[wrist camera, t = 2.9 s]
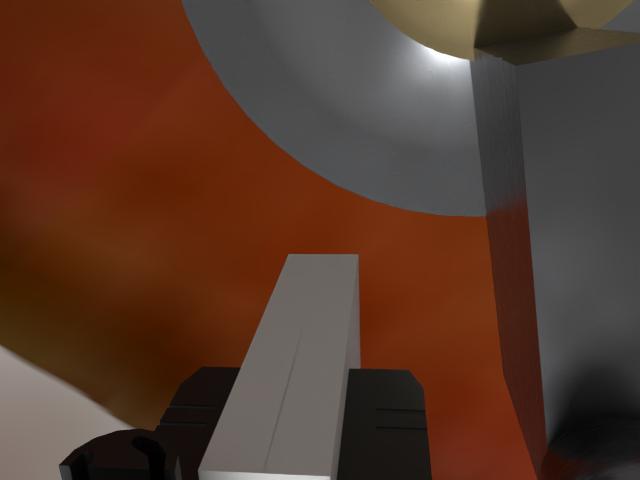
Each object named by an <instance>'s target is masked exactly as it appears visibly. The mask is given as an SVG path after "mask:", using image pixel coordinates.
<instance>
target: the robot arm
mask: <svg viewBox="0 0 640 480" xmlns="http://www.w3.org/2000/svg"><path fill="white" fill-rule="evenodd" d="M59 469H60V473H61V477H62V480H432V475H431V464H430V454H429V443H428V433H427V422H426V414H425V400H424V390H423V387H422V386H421V385H420V384H419V382H418V381H417V380H416V378H415V377H414V376H413V374H412V373H411V372H410V371H409V370H392V369H360V320H359V264H358V254H289V255H288V257H287V260H286V262H285V264H284V267H283V269H282V272H281V274H280V276H279V279H278V281H277V283H276V286H275V288H274V291H273V293H272V295H271V298H270V300H269V302H268V305H267V307H266V310H265V312H264V314H263V317H262V319H261V322H260V324H259V326H258V329H257V331H256V333H255V336H254V338H253V341H252V343H251V345H250V348H249V350H248V352H247V355H246V357H245V360H244V362H243V364H242V367H241V368H232V367H202V368H200V369H199V370H198V371H197V372H195V373H194V374H193V375H192V376H190V377H189V378H188V379H186V380H185V381H184V382H183V383H181V385H180V387H179V389H178V390H177V392H176V394H175V396H174V397H173V399H172V401H171V403H170V408H167V410H166V412H165V413H164V415H163V417H162V419H161V420H160V426H159V425H158V426H157V427H156V429H155V431H149V430H144V429H131V430H120V431H115V432H112V433H109V434H106V435H103V436H99V437H96V438H94V439H92V440H91V441H89V442H87V443H85V444H84V445H82V446H80V447H79V448H77V449H75V450H74V451H73V452H72V453H71V454H70V455H69V456H68V457H67V458H66V459H65V460H64V461H63V462H62V463H61V464H60V465H59Z"/></svg>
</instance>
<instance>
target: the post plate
mask: <svg viewBox="0 0 640 480" xmlns="http://www.w3.org/2000/svg"><path fill="white" fill-rule="evenodd" d="M182 3H183V6H184V10H185V13H186V15H187V17H188V19H189V21H190V24H191V26H192V28H193V30H194V32H195V35H196V37H197V39H198V41H199V43H200V46H201V48H202V50H203V52H204V54H205V55H206V57H207V59H208V60H209V62H210V64H211V65H212V67H213V69H214V70H215V72H216V73H217V75H218V77H219V78H220V80H221V82H222V83H223V85H224V86H225V88H226V89H227V90H228V92H229V93H230V94H231V95H232V97H233V98H234V99H235V101H236V102H237V103H238V104H239V106H240V107H241V108H242V109H243V111H244V112H245V113H246V115H247V116H248V117H249V118H250V119H251V120H252V121H253V122H254V123H255V124H256V125H257V126H258V127H259V128H260V129H261V130H262V131H263V132H264V133H265V134H266V135H267V136H268V137H269V138H270V139H271V140H272V141H273V142H274V143H275V144H276V145H278V146H279V147H280V148H282V149H283V150H284V151H285V152H287V153H288V154H289V155H291V156H292V157H293V158H294V159H296V160H297V161H298V162H300V163H301V164H302V165H304V166H305V167H306V168H308V169H310V170H312V171H313V172H315V173H317V174H318V175H320V176H322V177H323V178H325V179H327V180H329V181H330V182H332V183H334V184H335V185H337V186H340V187H342V188H344V189H347V190H349V191H351V192H354V193H356V194H358V195H361V196H363V197H365V198H368V199H370V200H373V201H377V202H380V203H384V204H387V205H391V206H394V207H398V208H401V209H405V210H410V211H417V212H423V213H430V214H436V215H447V216H486V208H485V199H484V190H483V181H482V171H481V162H480V153H479V144H478V134H477V125H476V116H475V107H474V97H473V88H472V79H471V70H470V61H469V60H466V59H460V58H456V57H453V56H449V55H446V54H442V53H439V52H437V51H435V50H432V49H430V48H428V47H426V46H423V45H421V44H419V43H418V42H416V41H414V40H413V39H411V38H410V37H408V36H406V35H405V34H403V33H402V32H400V31H399V30H398V29H397V28H396V27H394V26H393V25H392V24H391V23H390V22H389V21H387V20H386V19H385V18H384V17H383V16H382V15H381V14H380V13H379V11H378V10H377V9H376V8H375V7H374V6H373V5H372V4H371V3H370V1H369V0H182ZM599 29H604V30H615V31H626V32H637V33H640V0H634V1H633V2H632V3H631V4H630V5H628V6H627V7H626V8H625V9H624V10H623V11H622V12H620V13H619V14H618V15H617V16H616V17H615V18H613V19H612V20H611V21H609V22H608V23H606V24H605V25H603V26H602V27H601V28H599Z"/></svg>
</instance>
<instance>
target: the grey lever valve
mask: <svg viewBox="0 0 640 480" xmlns="http://www.w3.org/2000/svg"><path fill="white" fill-rule="evenodd" d="M369 1H370V3H371V4H372V5H373V6H374V7H375V8H376V9H377V10H378V11H379V13H380V14H381V15H382V16H383V17H384V18H385V19H386V20H387V21H389V22H390V23H391V24H392V25H393V26H394V27H396V28H397V29H398V30H399V31H400V32H402V33H403V34H405V35H406V36H408V37H410V38H411V39H413V40H414V41H416V42H418V43H419V44H421V45H423V46H426V47H428V48H430V49H432V50H435V51H437V52H439V53H442V54H446V55H449V56H453V57H456V58H460V59H466V60H469V61H470V70H471V79H472V88H473V97H474V107H475V116H476V125H477V134H478V144H479V153H480V162H481V171H482V181H483V190H484V199H485V208H486V217H487V227H488V236H489V245H490V254H491V264H492V273H493V282H494V291H495V301H496V310H497V319H498V328H499V338H500V347H501V356H502V365H503V374H504V378H505V381H506V384H507V387H508V390H509V393H510V396H511V399H512V403H513V406H514V409H515V412H516V415H517V418H518V421H519V424H520V427H521V430H522V433H523V436H524V439H525V442H526V446H527V449H528V452H529V455H530V458H531V461H532V464H533V467H534V470H535V473H536V476H537V479H538V480H640V33H637V32H626V31H615V30H604V29H599V28H601V27H602V26H603V25H605V24H606V23H608V22H609V21H611V20H612V19H613V18H615V17H616V16H617V15H618V14H619V13H620V12H622V11H623V10H624V9H625V8H626V7H627V6H628V5H630V4H631V3H632V2H633V1H634V0H369Z"/></svg>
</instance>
